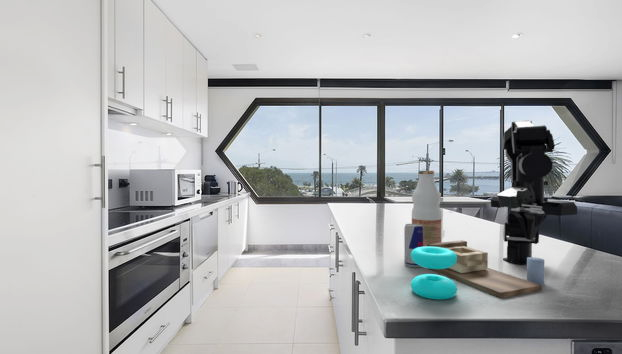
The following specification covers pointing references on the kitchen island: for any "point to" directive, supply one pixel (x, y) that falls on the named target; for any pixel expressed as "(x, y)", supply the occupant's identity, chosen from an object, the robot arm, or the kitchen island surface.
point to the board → (488, 278)
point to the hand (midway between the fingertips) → (529, 239)
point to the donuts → (433, 283)
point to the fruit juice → (427, 208)
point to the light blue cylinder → (535, 270)
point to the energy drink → (412, 242)
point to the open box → (469, 259)
